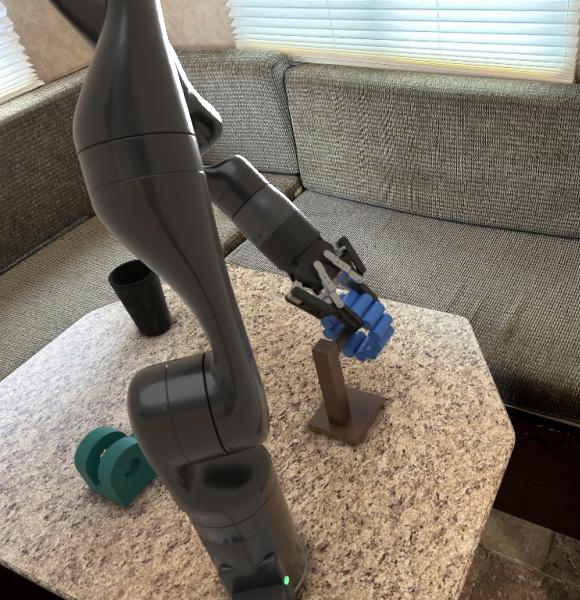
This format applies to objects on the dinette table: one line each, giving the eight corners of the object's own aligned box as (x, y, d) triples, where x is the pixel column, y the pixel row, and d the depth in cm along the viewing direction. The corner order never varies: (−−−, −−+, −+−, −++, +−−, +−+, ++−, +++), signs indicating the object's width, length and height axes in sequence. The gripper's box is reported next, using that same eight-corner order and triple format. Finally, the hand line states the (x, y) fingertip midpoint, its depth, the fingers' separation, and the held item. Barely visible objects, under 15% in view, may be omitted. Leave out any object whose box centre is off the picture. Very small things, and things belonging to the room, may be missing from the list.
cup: (148, 311, 112) (124, 257, 104) (185, 313, 110) (163, 259, 102) (125, 339, 106) (98, 284, 98) (164, 342, 104) (140, 287, 97)
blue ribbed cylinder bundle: (384, 368, 85) (377, 317, 79) (326, 351, 88) (315, 301, 82) (396, 349, 87) (390, 298, 82) (340, 334, 91) (330, 284, 85)
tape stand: (357, 446, 84) (341, 366, 74) (308, 429, 87) (286, 351, 77) (401, 375, 93) (392, 296, 84) (356, 362, 96) (342, 285, 87)
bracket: (125, 508, 79) (102, 472, 74) (90, 489, 82) (65, 453, 77) (217, 410, 91) (201, 374, 86) (184, 397, 94) (167, 361, 89)
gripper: (256, 242, 72) (358, 341, 75) (318, 186, 82) (406, 275, 85) (232, 270, 78) (328, 361, 81) (293, 214, 87) (376, 297, 90)
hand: (367, 316), depth 83 cm, fingers closed on blue ribbed cylinder bundle, 4 cm apart
